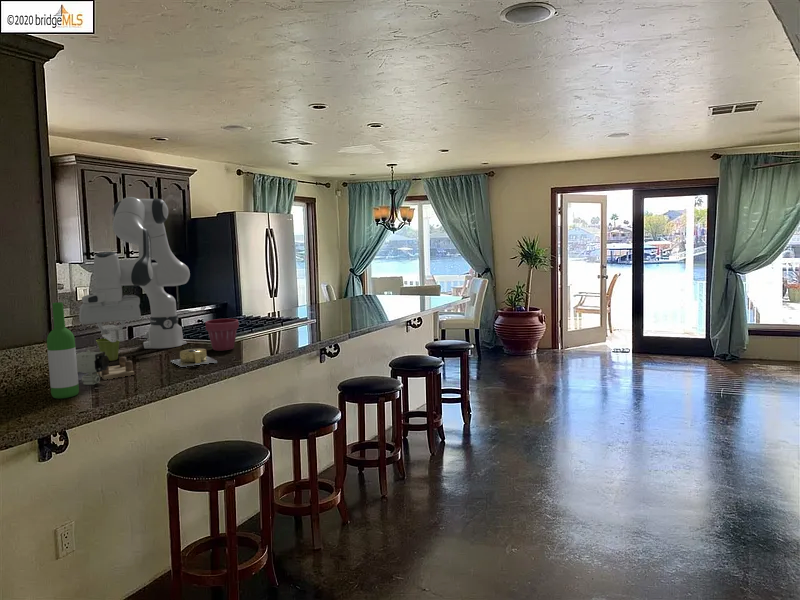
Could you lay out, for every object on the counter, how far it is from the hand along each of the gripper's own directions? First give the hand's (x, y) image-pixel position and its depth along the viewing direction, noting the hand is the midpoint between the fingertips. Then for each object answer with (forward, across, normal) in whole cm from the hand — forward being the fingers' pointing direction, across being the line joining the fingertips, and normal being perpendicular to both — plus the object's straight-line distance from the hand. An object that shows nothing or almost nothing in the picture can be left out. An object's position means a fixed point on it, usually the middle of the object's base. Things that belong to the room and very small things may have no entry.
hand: (112, 333), depth 218 cm
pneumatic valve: (+15, +10, +12) cm, 22 cm away
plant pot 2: (+15, -49, -22) cm, 56 cm away
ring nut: (+14, -29, +2) cm, 32 cm away
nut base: (+15, -29, 0) cm, 33 cm away
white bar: (+2, 0, 0) cm, 2 cm away
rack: (+15, 0, 0) cm, 15 cm away
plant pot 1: (+15, -4, -31) cm, 35 cm away
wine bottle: (+15, +19, +24) cm, 34 cm away
